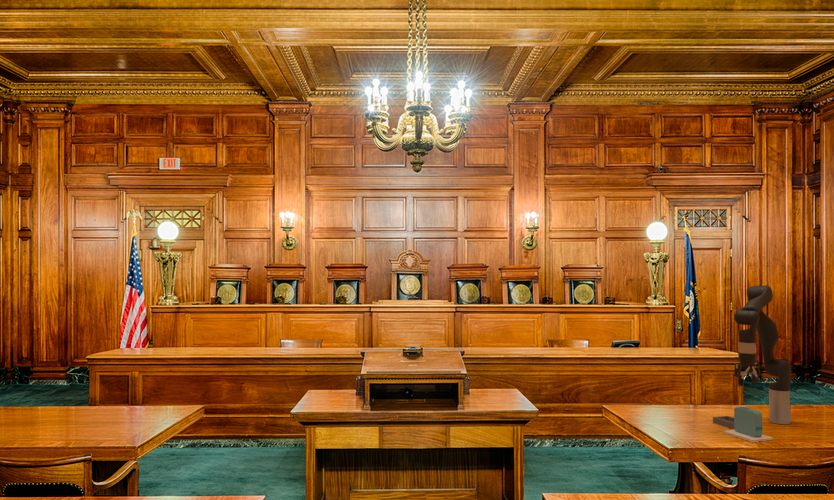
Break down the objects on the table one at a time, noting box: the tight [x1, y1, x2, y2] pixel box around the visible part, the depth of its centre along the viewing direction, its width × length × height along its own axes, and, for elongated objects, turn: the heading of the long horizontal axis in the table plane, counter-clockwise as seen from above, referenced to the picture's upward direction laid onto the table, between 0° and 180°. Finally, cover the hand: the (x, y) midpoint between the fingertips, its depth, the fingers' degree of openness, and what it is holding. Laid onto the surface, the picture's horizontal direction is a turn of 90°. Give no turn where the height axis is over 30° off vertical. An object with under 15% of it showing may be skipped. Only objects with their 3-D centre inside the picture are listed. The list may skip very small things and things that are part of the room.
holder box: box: [712, 415, 735, 430], centre depth 292 cm, size 10×17×3 cm, turn 20°
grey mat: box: [722, 429, 774, 443], centre depth 272 cm, size 13×16×1 cm
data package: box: [733, 406, 763, 437], centre depth 273 cm, size 12×4×12 cm, turn 17°
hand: (747, 385), depth 275 cm, fingers open, 8 cm apart
